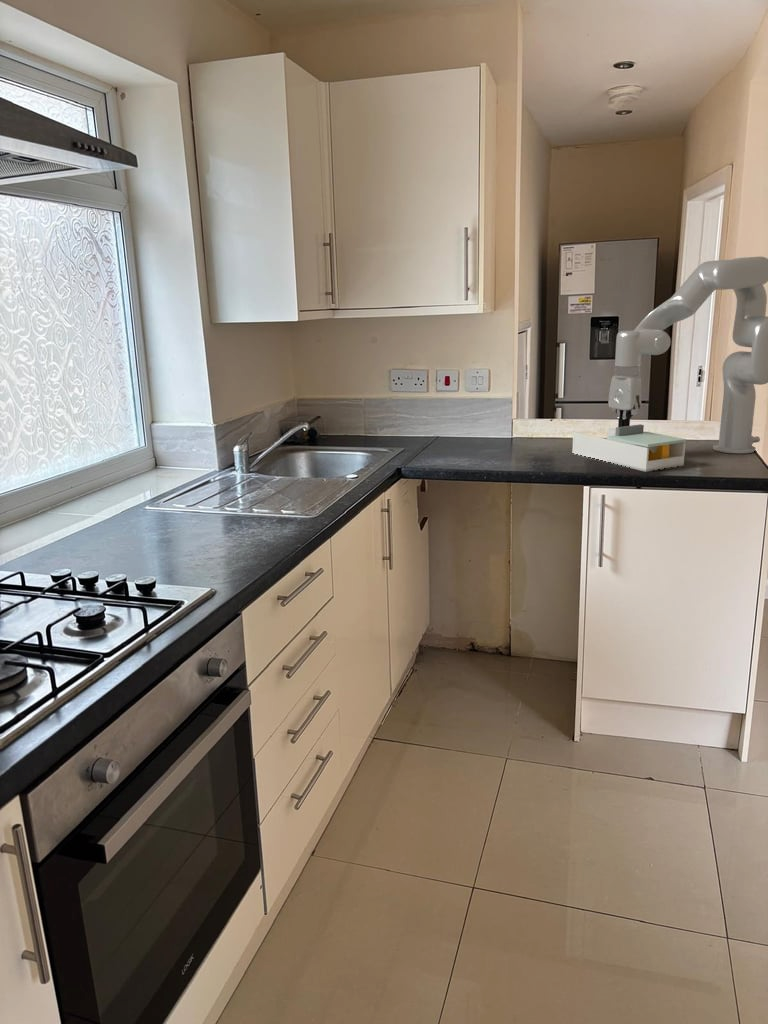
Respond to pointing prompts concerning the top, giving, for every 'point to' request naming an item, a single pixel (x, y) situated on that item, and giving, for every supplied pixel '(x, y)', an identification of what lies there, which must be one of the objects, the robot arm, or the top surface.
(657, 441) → the lid
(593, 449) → the housing
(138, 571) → the top surface
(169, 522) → the top surface
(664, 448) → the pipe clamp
